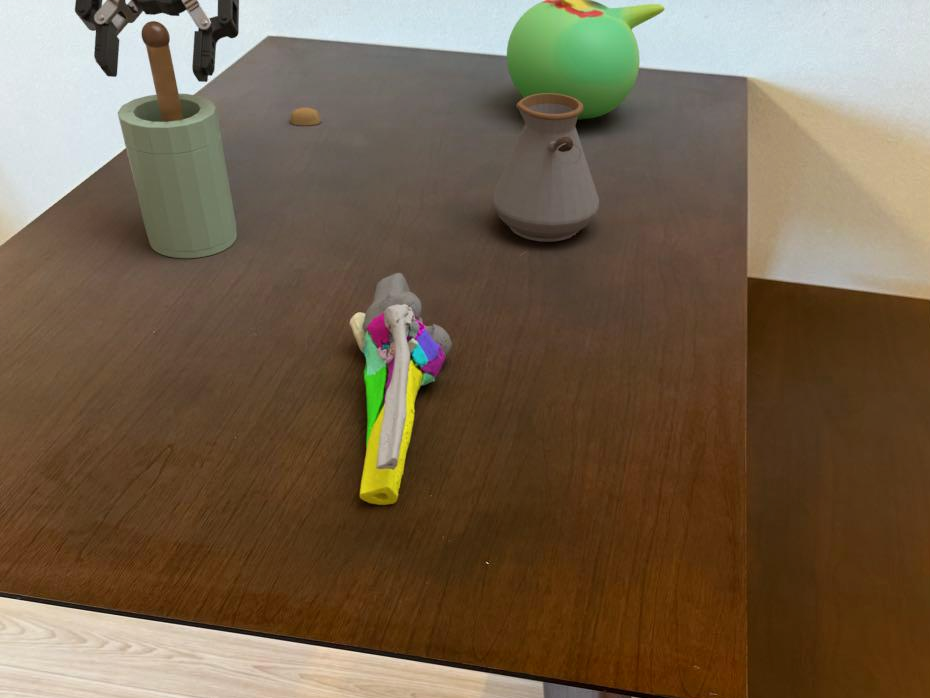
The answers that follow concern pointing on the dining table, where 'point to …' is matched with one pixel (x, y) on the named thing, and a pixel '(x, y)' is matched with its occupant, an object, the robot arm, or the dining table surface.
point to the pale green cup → (180, 176)
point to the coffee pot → (547, 173)
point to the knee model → (394, 380)
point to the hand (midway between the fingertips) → (154, 75)
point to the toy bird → (578, 52)
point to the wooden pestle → (162, 70)
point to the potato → (305, 116)
